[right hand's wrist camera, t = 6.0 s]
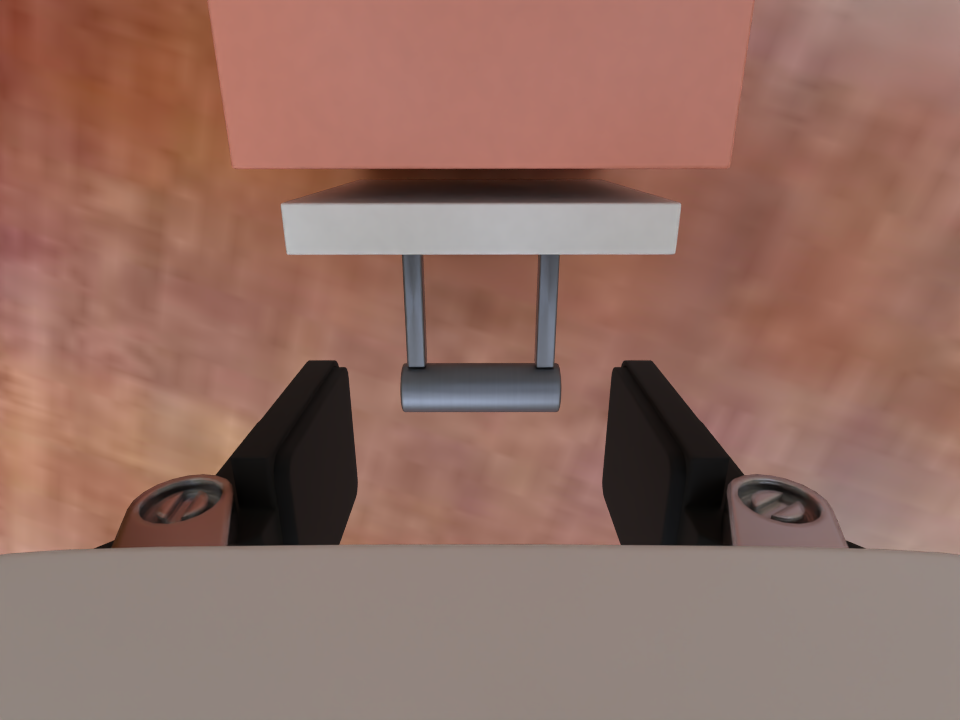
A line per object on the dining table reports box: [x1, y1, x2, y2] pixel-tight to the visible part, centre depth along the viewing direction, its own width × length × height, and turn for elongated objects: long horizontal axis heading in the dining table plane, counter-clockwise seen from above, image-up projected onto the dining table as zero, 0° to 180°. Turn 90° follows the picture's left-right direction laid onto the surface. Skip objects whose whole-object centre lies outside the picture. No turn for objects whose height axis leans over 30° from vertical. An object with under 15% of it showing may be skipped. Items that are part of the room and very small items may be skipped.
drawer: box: [281, 180, 681, 412], centre depth 16 cm, size 24×9×9 cm, turn 0°
